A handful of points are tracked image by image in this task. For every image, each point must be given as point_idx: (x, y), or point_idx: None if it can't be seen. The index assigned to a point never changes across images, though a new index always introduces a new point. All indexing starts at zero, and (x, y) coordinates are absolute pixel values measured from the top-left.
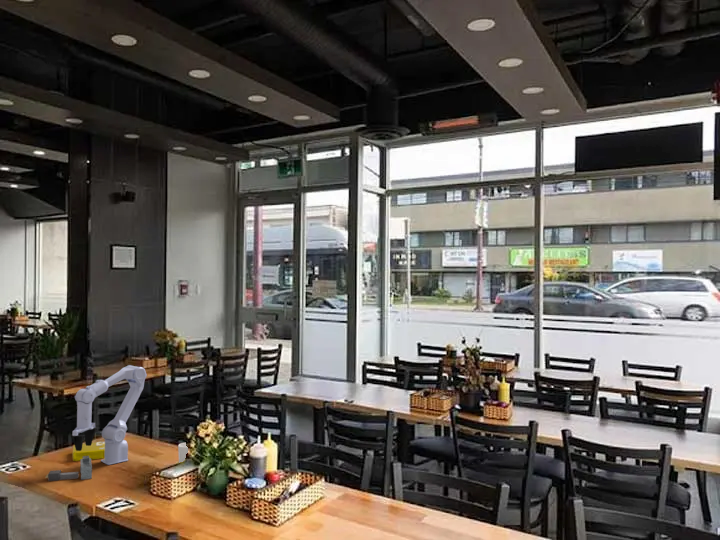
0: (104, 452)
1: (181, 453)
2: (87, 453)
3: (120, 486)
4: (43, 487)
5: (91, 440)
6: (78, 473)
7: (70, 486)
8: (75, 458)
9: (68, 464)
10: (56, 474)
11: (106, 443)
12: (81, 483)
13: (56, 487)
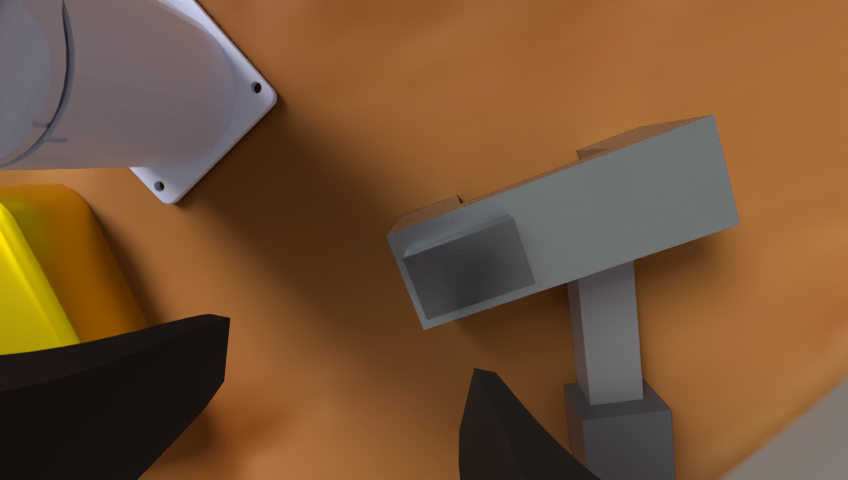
0: (33, 209)
1: None
2: None
3: None
4: (788, 425)
5: (172, 339)
6: None
7: (815, 238)
8: None
9: (262, 426)
10: (666, 419)
11: (53, 117)
12: (756, 173)
13: (812, 336)
